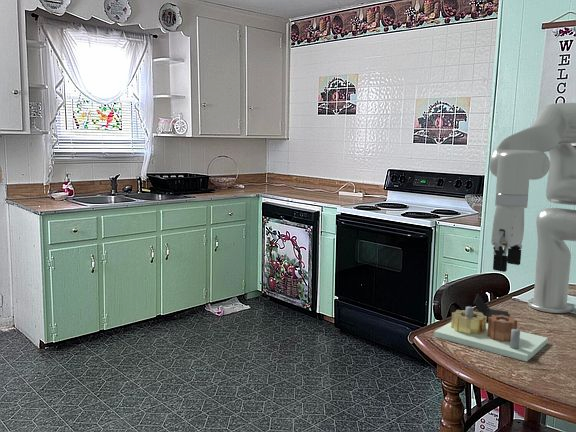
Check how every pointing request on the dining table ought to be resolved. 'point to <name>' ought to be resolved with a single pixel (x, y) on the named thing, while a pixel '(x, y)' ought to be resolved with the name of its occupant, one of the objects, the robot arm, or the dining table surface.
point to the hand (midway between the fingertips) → (506, 267)
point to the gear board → (496, 341)
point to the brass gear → (468, 322)
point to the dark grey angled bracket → (485, 310)
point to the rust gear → (501, 327)
